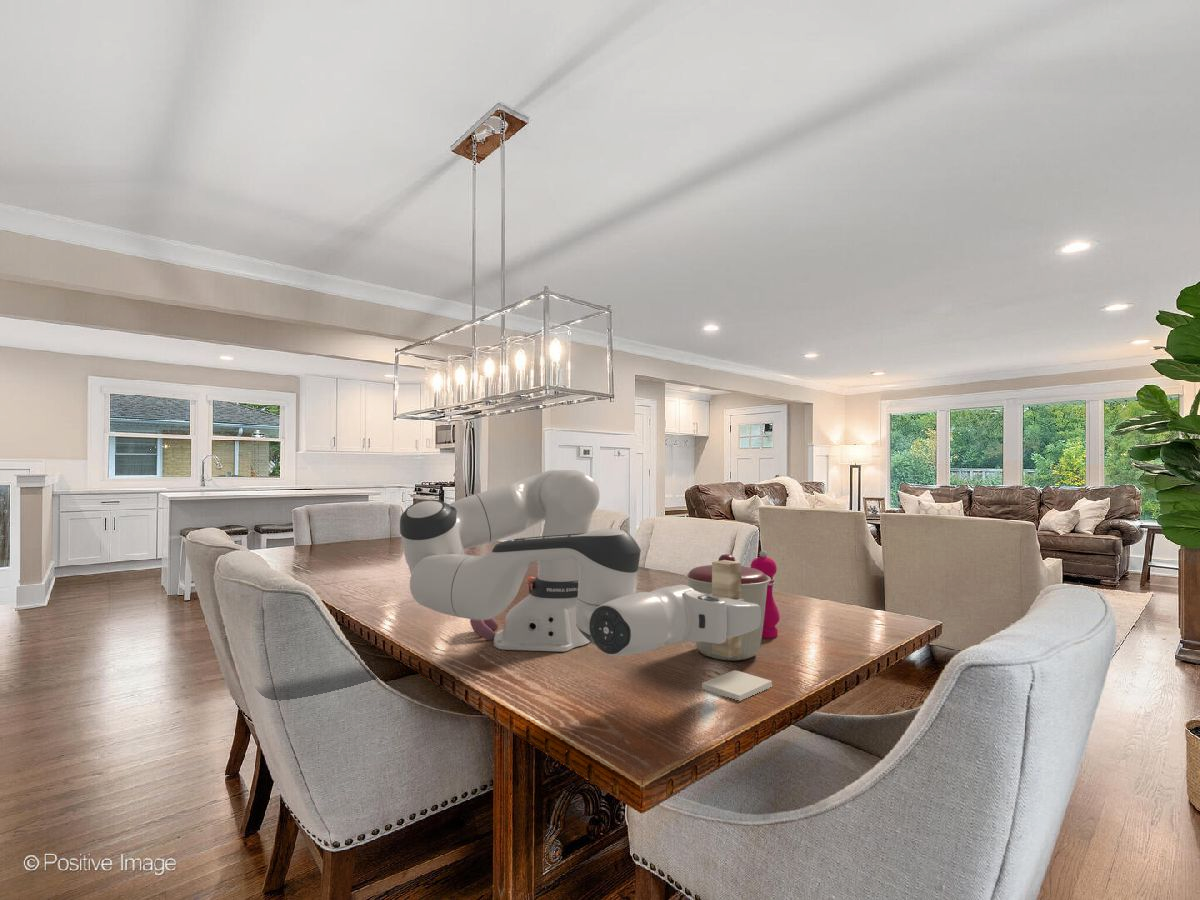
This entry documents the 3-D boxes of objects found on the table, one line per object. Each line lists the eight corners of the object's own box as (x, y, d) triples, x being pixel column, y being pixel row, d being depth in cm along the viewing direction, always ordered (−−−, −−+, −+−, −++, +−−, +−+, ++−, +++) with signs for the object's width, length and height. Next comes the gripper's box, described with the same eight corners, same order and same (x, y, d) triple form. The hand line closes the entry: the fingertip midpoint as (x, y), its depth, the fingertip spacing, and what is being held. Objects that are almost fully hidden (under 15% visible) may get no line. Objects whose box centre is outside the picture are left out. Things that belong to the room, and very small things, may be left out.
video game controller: (483, 635, 145) (470, 610, 145) (500, 627, 145) (487, 601, 145) (478, 648, 135) (464, 620, 135) (496, 638, 135) (482, 611, 135)
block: (728, 657, 102) (728, 564, 103) (712, 652, 105) (712, 561, 106) (741, 653, 105) (740, 562, 105) (724, 648, 107) (724, 560, 108)
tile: (739, 695, 100) (771, 680, 107) (702, 683, 106) (734, 669, 113) (739, 705, 100) (771, 689, 107) (702, 692, 106) (734, 678, 113)
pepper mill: (776, 631, 144) (775, 548, 144) (782, 639, 137) (782, 552, 137) (746, 630, 145) (745, 548, 145) (750, 638, 137) (750, 552, 138)
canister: (715, 636, 139) (715, 546, 140) (787, 653, 126) (786, 554, 127) (667, 653, 127) (667, 554, 127) (740, 674, 114) (740, 564, 114)
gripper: (633, 620, 104) (685, 608, 113) (728, 646, 89) (779, 630, 98) (633, 584, 105) (685, 574, 114) (728, 604, 89) (779, 592, 98)
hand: (729, 600), depth 106 cm, fingers closed on block, 4 cm apart
